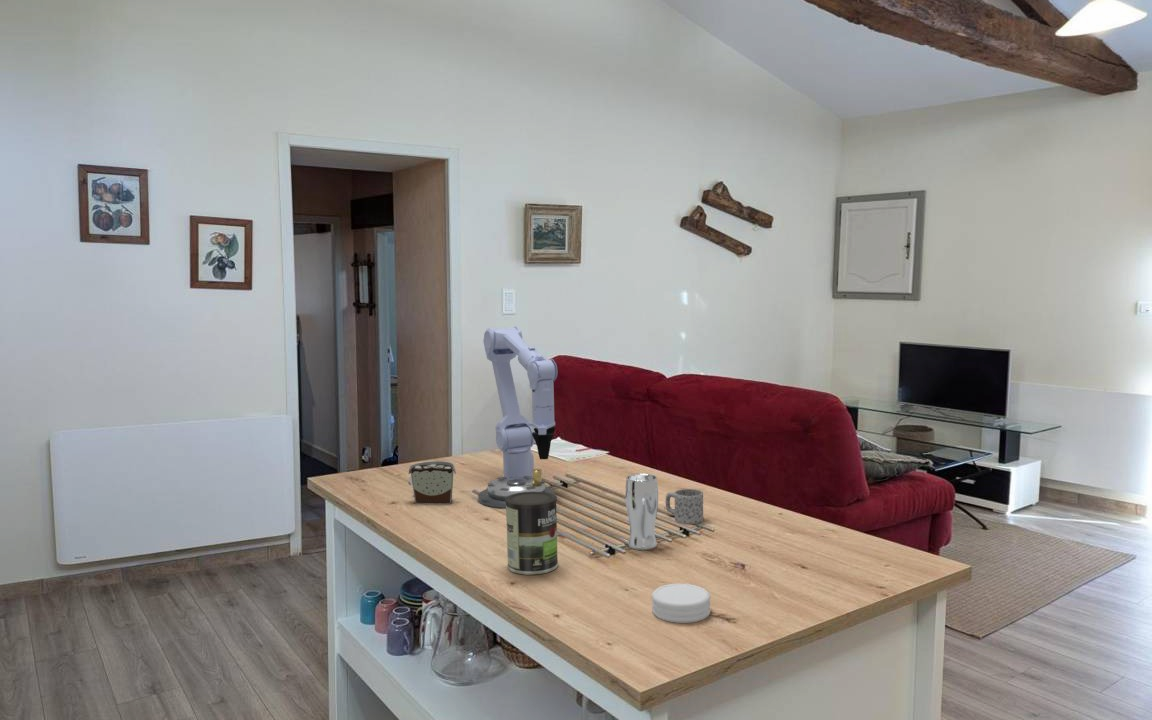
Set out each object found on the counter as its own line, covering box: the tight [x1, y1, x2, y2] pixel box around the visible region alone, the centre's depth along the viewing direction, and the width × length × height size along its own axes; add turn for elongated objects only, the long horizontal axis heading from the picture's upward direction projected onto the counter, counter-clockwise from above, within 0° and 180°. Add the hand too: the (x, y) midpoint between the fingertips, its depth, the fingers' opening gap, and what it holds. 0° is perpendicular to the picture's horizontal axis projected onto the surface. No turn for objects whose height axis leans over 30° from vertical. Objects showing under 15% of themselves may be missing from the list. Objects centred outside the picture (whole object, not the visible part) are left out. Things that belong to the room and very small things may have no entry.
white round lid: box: [651, 583, 711, 624], centre depth 144 cm, size 10×10×4 cm
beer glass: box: [625, 473, 659, 551], centre depth 179 cm, size 7×7×15 cm
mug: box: [665, 488, 704, 525], centre depth 198 cm, size 10×7×7 cm
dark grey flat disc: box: [477, 486, 556, 509], centre depth 220 cm, size 20×20×1 cm
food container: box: [408, 460, 457, 505], centre depth 218 cm, size 12×6×10 cm, turn 84°
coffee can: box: [505, 492, 559, 576], centre depth 168 cm, size 10×10×14 cm
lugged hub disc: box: [487, 468, 546, 500], centre depth 219 cm, size 15×15×6 cm
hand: (544, 456), depth 221 cm, fingers open, 5 cm apart
